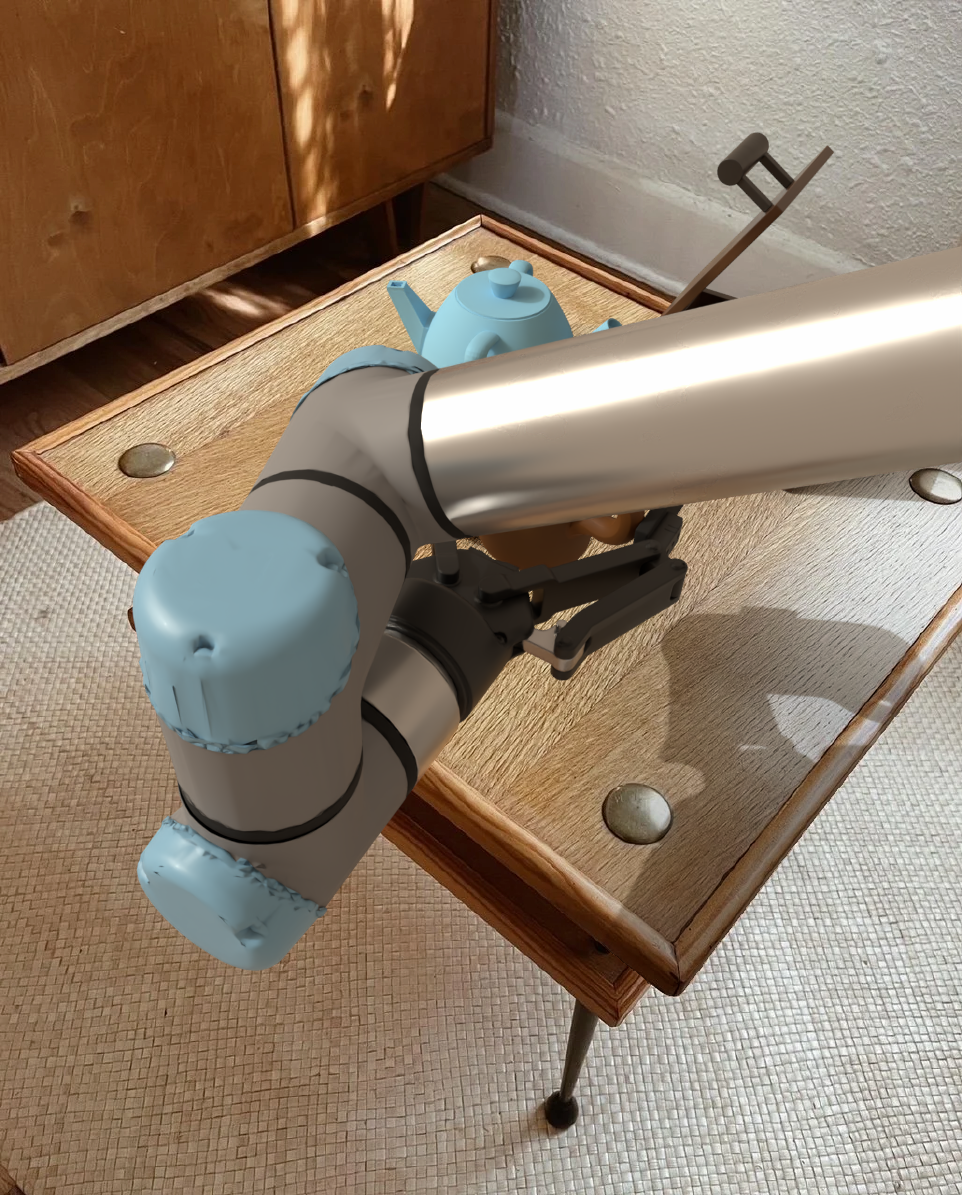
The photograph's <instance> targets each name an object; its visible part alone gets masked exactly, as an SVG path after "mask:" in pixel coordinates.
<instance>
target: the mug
mask: <svg viewBox="0 0 962 1195" xmlns="http://www.w3.org/2000/svg"><path fill="white" fill-rule="evenodd" d="M645 516H646V510H645V511H639V512H632V513H626V514H619V515H616V517H615V516H613V515H612V516H606V517H599V518H593V519H586V520H580V521H573V522H567V523H560V524H554V525H547V526H540V527H534V528H527V529H521V530H514V531H508V532H501V533H495V534H488V535H481V536H478V537H479V539H480V543H481V544H482V546H483V548H484V549H485V550H486V551H487V553H488V554H489V556H490V557H491V558H492V559H495V560H499V561H504V562H508V563H510V564H512V565H515V566H517V567H519V571H520V570H523V569H527V568H530V567H534V566H537V565H541V564H544V565H546V566H547V567H548V568H552V567H555V566H559V565H562V564H566V563H569V562H572V561H576V560H579V559H581V558H582V557H583V555H585V553H586V551H587V550H588V548H589V545H590V543H591V540H592V538H593V539H594V540H596V541H597V542H600V543H602V544H605V545H609V546H622V545H626V544H629V543H630V542H633V541H634V536H635V531H636V528H637V527H638V526H639V524H640V523H641V522H642V520H643V519H644V517H645Z"/></svg>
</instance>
